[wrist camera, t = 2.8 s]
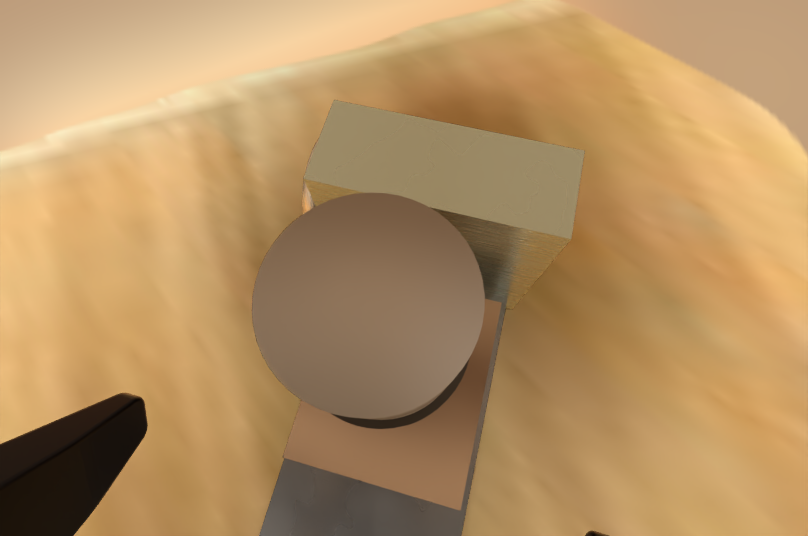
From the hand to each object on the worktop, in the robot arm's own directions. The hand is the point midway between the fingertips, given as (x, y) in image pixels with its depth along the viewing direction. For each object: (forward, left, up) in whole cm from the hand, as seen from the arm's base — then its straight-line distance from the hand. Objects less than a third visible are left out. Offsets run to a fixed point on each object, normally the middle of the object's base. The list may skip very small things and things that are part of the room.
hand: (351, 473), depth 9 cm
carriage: (+2, +2, -8) cm, 9 cm away
